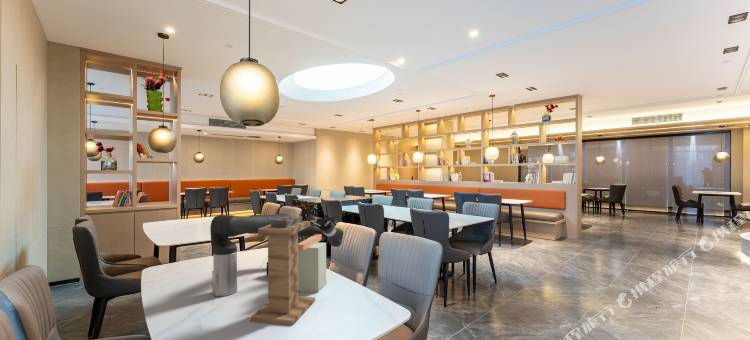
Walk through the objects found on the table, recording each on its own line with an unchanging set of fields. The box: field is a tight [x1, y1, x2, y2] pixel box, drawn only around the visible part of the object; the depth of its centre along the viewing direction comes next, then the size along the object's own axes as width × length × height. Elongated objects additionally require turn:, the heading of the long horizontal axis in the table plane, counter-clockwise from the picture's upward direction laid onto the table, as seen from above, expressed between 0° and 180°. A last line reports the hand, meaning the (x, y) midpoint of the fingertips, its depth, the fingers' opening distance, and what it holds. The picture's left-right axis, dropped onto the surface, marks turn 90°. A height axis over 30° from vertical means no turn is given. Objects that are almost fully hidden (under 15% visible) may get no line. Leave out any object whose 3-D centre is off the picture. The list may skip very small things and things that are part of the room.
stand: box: [249, 215, 316, 326], centre depth 120 cm, size 20×16×34 cm
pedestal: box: [298, 241, 327, 293], centre depth 143 cm, size 10×12×19 cm
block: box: [298, 234, 323, 251], centre depth 144 cm, size 22×3×2 cm, turn 169°
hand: (317, 215), depth 157 cm, fingers open, 8 cm apart
